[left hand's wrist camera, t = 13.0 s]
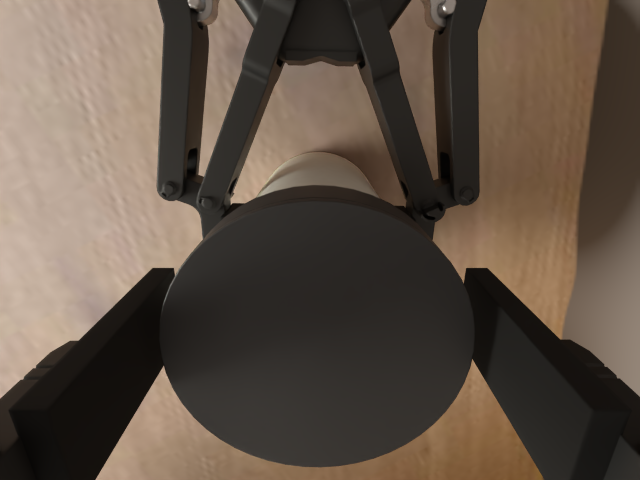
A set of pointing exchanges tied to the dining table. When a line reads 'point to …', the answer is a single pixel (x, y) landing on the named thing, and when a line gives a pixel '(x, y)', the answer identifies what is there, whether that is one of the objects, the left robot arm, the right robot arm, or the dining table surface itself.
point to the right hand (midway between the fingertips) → (316, 318)
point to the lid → (317, 328)
